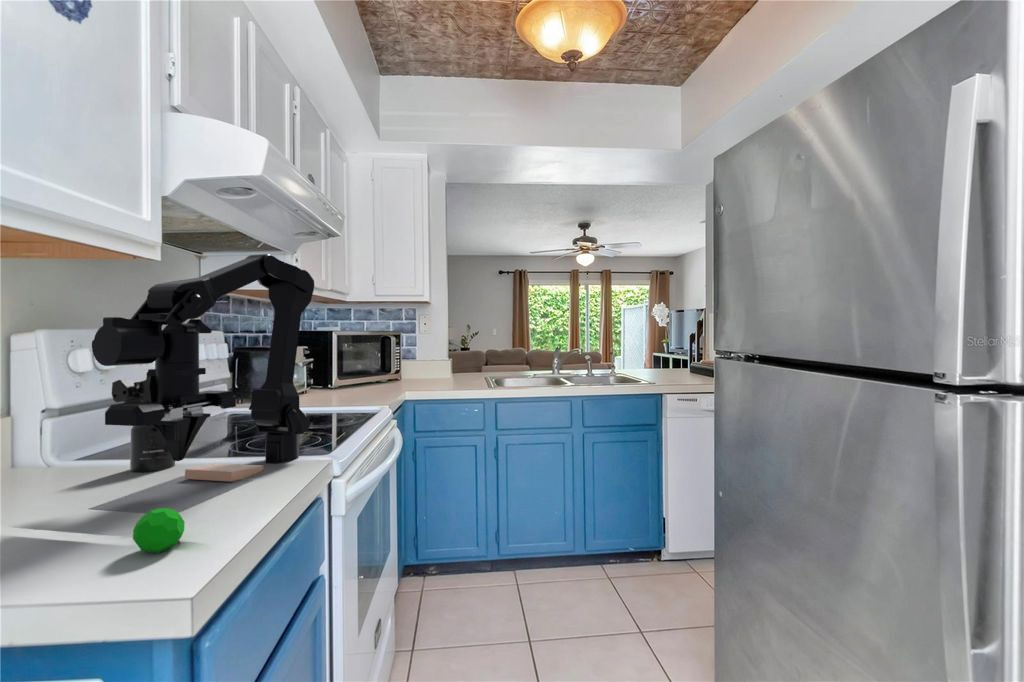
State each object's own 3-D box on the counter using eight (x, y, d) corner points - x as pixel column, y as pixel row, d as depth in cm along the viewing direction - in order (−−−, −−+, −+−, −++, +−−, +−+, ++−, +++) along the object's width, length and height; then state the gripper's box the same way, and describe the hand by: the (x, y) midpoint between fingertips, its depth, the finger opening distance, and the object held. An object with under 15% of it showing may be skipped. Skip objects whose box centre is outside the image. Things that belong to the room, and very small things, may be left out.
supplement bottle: (147, 478, 85) (146, 412, 85) (121, 475, 87) (120, 410, 87) (184, 468, 92) (184, 406, 92) (159, 465, 94) (158, 405, 94)
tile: (184, 478, 82) (219, 471, 90) (230, 481, 80) (262, 474, 88) (185, 469, 82) (220, 463, 90) (231, 471, 80) (263, 465, 88)
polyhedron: (146, 542, 59) (146, 504, 59) (191, 539, 60) (191, 501, 60) (124, 561, 54) (123, 520, 54) (172, 557, 55) (172, 516, 55)
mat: (182, 480, 84) (182, 476, 84) (253, 484, 82) (253, 480, 82) (88, 514, 68) (88, 508, 68) (173, 520, 66) (173, 514, 66)
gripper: (182, 358, 85) (183, 444, 86) (71, 365, 67) (72, 475, 67) (237, 359, 84) (238, 447, 84) (139, 366, 65) (140, 479, 65)
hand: (178, 460), depth 75 cm, fingers closed
